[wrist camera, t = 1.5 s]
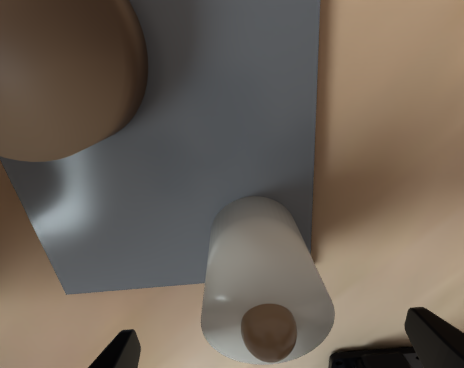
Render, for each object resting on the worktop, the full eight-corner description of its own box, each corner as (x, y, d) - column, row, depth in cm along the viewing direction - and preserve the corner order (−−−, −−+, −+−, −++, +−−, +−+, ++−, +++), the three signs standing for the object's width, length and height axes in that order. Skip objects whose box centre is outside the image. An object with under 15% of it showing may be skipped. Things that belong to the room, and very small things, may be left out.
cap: (295, 264, 14) (343, 395, 8) (216, 271, 14) (207, 405, 8) (296, 192, 12) (357, 294, 6) (205, 200, 12) (185, 309, 6)
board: (306, 266, 14) (309, 274, 14) (72, 286, 15) (66, 294, 14) (318, -115, 8) (324, -129, 8) (-92, -64, 8) (-115, -74, 8)
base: (164, 135, 11) (147, 151, 8) (7, 151, 11) (-52, 171, 9) (120, -81, 8) (76, -146, 6) (-90, -56, 8) (-217, -108, 6)
